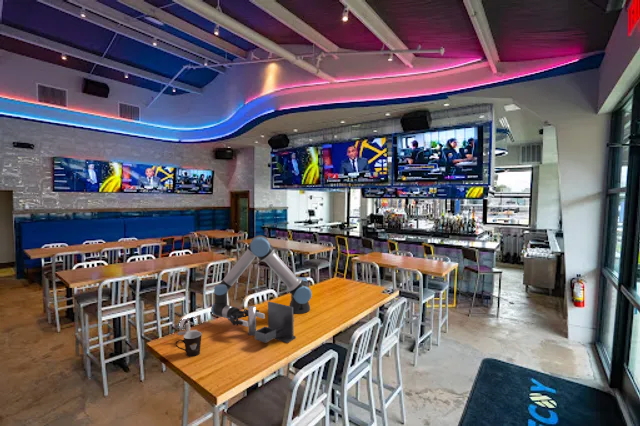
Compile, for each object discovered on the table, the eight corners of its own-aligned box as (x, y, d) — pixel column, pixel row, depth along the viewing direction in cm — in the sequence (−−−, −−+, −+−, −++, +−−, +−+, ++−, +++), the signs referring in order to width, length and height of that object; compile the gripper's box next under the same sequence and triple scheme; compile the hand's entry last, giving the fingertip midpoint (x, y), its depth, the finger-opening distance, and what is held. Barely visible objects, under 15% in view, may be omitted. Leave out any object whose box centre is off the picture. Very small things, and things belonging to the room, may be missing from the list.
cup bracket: (271, 331, 185) (271, 300, 184) (295, 338, 175) (295, 306, 174) (248, 343, 169) (247, 310, 168) (273, 352, 159) (272, 317, 158)
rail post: (252, 331, 184) (252, 305, 183) (257, 333, 182) (257, 306, 181) (247, 334, 180) (246, 307, 179) (252, 336, 178) (251, 309, 177)
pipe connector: (176, 346, 166) (176, 328, 166) (179, 338, 176) (179, 321, 175) (196, 344, 169) (195, 326, 168) (198, 336, 178) (197, 319, 178)
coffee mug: (204, 349, 162) (204, 331, 162) (198, 358, 154) (198, 338, 153) (182, 350, 162) (181, 331, 162) (175, 358, 153) (174, 339, 153)
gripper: (246, 312, 201) (270, 319, 189) (214, 325, 180) (239, 334, 168) (246, 301, 201) (270, 307, 189) (214, 313, 180) (239, 321, 168)
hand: (256, 320), depth 179 cm, fingers open, 13 cm apart
